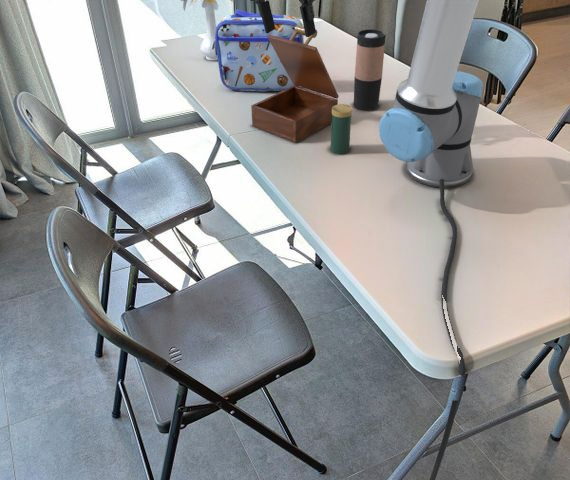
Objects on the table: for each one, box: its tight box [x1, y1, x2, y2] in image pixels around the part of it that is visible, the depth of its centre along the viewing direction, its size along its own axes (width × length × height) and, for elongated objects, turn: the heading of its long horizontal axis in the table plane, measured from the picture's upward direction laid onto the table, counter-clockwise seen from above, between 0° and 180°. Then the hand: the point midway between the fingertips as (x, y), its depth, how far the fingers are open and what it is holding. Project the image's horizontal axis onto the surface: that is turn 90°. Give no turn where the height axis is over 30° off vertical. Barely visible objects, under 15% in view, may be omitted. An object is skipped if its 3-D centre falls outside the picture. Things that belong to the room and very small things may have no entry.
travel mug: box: [353, 28, 386, 112], centre depth 152 cm, size 8×8×20 cm
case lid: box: [268, 25, 340, 99], centre depth 144 cm, size 19×16×7 cm
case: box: [250, 85, 339, 144], centre depth 149 cm, size 18×16×6 cm
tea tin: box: [329, 103, 353, 155], centre depth 135 cm, size 5×5×11 cm
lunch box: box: [212, 8, 305, 92], centre depth 163 cm, size 28×10×22 cm, turn 84°
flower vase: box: [180, 0, 234, 62], centre depth 182 cm, size 13×18×25 cm
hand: (290, 33), depth 128 cm, fingers open, 13 cm apart
